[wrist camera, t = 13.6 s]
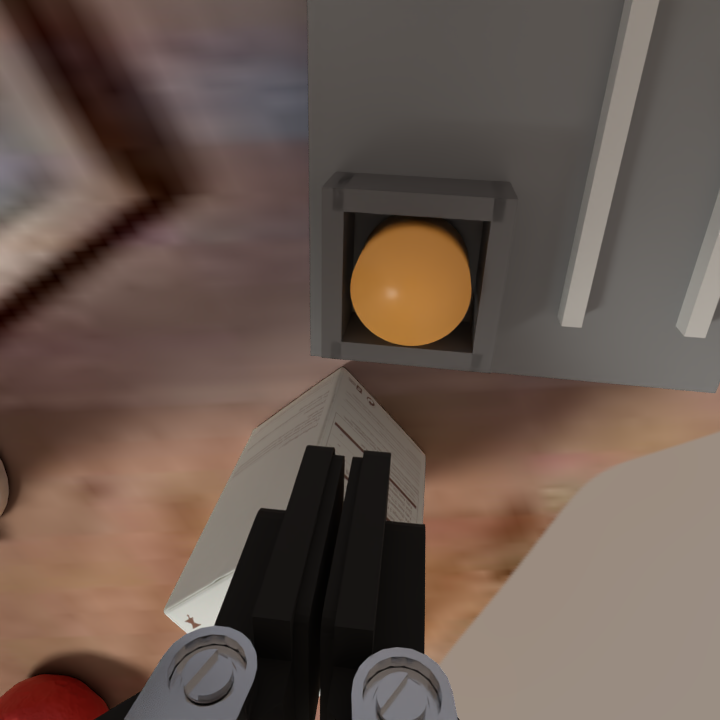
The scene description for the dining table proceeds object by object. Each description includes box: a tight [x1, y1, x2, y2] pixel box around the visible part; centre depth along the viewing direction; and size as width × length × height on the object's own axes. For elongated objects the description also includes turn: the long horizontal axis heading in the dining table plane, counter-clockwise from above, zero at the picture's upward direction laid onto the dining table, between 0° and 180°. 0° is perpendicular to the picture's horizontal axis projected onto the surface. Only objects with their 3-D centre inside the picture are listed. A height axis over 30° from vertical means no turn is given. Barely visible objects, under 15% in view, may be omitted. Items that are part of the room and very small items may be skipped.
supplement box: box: [164, 367, 426, 696], centre depth 27 cm, size 7×7×13 cm
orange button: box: [350, 215, 471, 346], centre depth 22 cm, size 4×4×3 cm
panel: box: [307, 0, 720, 393], centre depth 20 cm, size 25×18×6 cm
